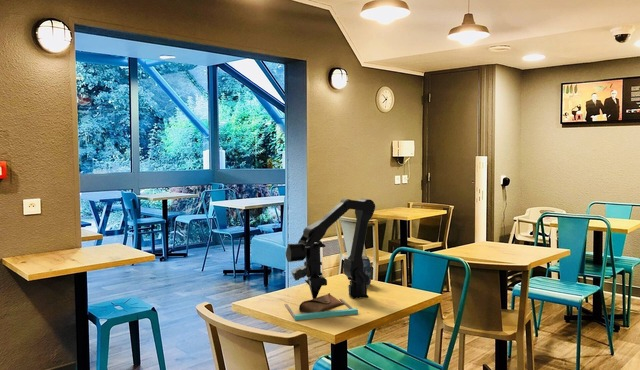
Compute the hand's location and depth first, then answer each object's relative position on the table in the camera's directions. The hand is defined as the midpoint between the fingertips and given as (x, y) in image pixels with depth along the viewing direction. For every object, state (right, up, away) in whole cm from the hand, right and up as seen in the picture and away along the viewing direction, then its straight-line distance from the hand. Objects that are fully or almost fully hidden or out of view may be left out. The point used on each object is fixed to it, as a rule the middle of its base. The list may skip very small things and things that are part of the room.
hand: (314, 299), depth 207 cm
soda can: (+21, 0, +27) cm, 35 cm away
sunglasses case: (+3, -3, -6) cm, 7 cm away
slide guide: (+2, -2, -8) cm, 9 cm away
